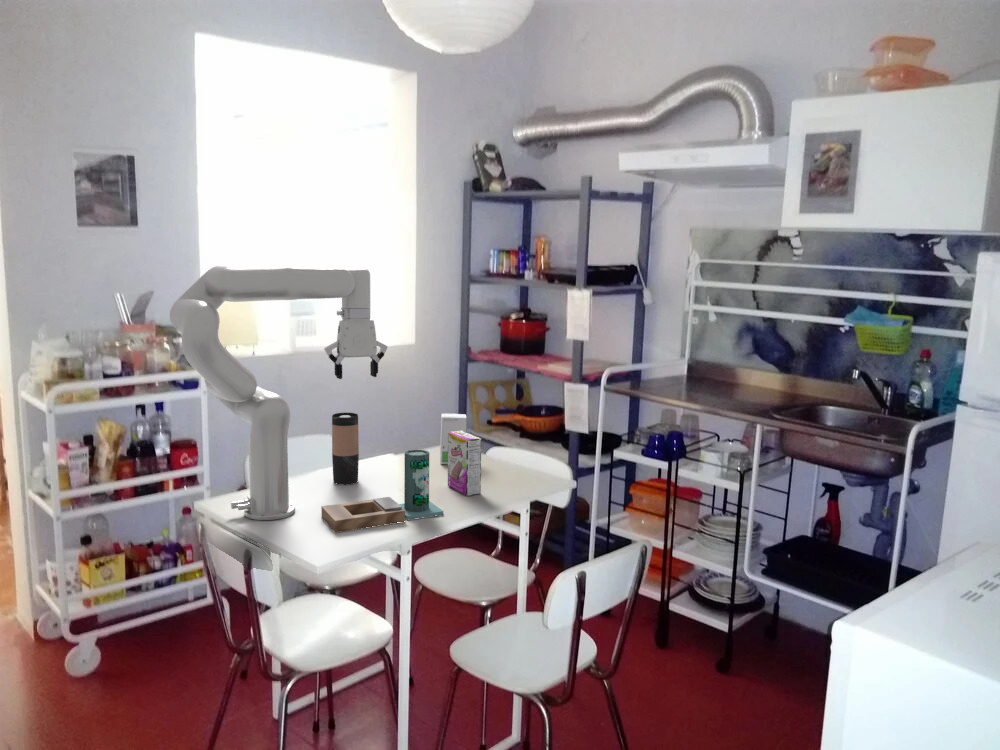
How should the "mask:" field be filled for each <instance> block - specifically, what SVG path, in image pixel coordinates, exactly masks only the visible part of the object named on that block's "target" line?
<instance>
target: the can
mask: <svg viewBox="0 0 1000 750" xmlns="http://www.w3.org/2000/svg"><path fill="white" fill-rule="evenodd" d="M403 489H404V492H403V493H404V498H403V499H404V503H403V504H404V509H405V510H407V511H410V512H422V511H426V510H428V509H429V501H430V452H429V450H425V449H411V450H407V451H405V452H404V488H403Z"/></svg>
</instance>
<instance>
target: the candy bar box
mask: <svg viewBox="0 0 1000 750" xmlns="http://www.w3.org/2000/svg"><path fill="white" fill-rule="evenodd" d="M481 477H482V438H480V437H478V436H476V435H473V434H471V433H470V432H467V431H466V432H464V431H462V430H461V431H452V432H448V464H447V487H449V488H451V489H453V490H454V489H455V491H457V492H459V493H460V494H462V495H464V496H465V497H471V495H472V496H475V495H481V493H482V491H481V490H482V489H481V484H482V483H481V482H482V478H481Z"/></svg>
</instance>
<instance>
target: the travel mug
mask: <svg viewBox="0 0 1000 750" xmlns="http://www.w3.org/2000/svg"><path fill="white" fill-rule="evenodd" d="M359 443H360V441H359V414H358V413H355V412H336V413H334V414H332V415H331V455H332V456H331V457H332V458H331V459H332V477H333V483H334V484H335V483H337V484H336V485H339V484H344V485H343V486H347V485H346V484H350V485H354V484H353V483H355V484H357V483H358V482H357V481H359V459H360V458H359V456H360V455H359V453H360V451H359V450H360V449H359V445H360V444H359ZM356 482H357V483H356Z"/></svg>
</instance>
